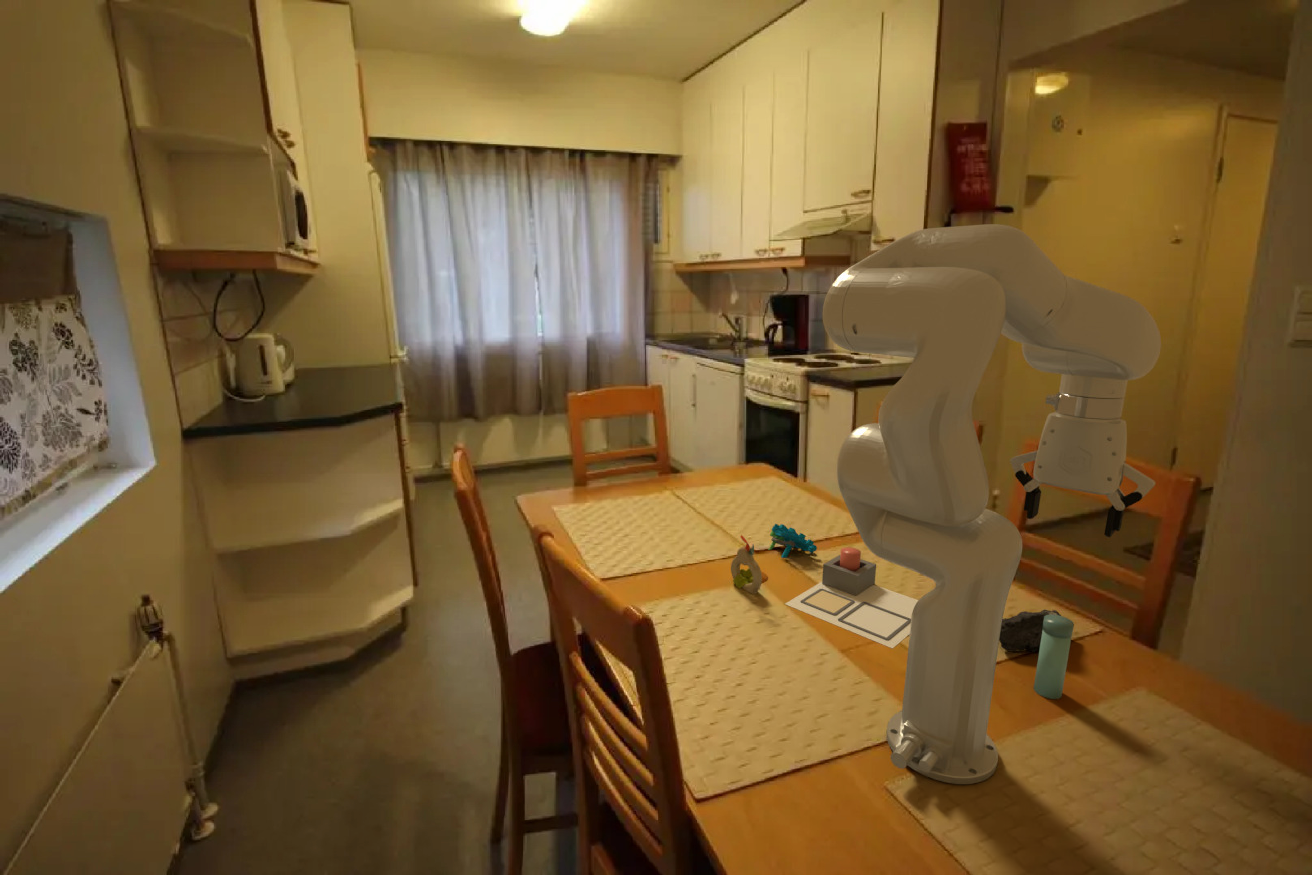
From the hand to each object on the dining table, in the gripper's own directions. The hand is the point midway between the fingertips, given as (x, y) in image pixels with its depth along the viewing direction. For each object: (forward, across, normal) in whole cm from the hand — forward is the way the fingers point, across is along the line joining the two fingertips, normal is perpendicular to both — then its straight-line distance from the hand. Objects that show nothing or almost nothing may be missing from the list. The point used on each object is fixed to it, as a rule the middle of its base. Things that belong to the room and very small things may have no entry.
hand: (1069, 525), depth 93 cm
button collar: (+22, -34, +2) cm, 40 cm away
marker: (+22, +2, -8) cm, 24 cm away
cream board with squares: (+22, -28, -4) cm, 36 cm away
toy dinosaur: (+22, -50, +7) cm, 55 cm away
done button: (+20, -34, +2) cm, 39 cm away
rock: (+22, -4, +5) cm, 23 cm away
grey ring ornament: (+23, -46, -10) cm, 52 cm away
